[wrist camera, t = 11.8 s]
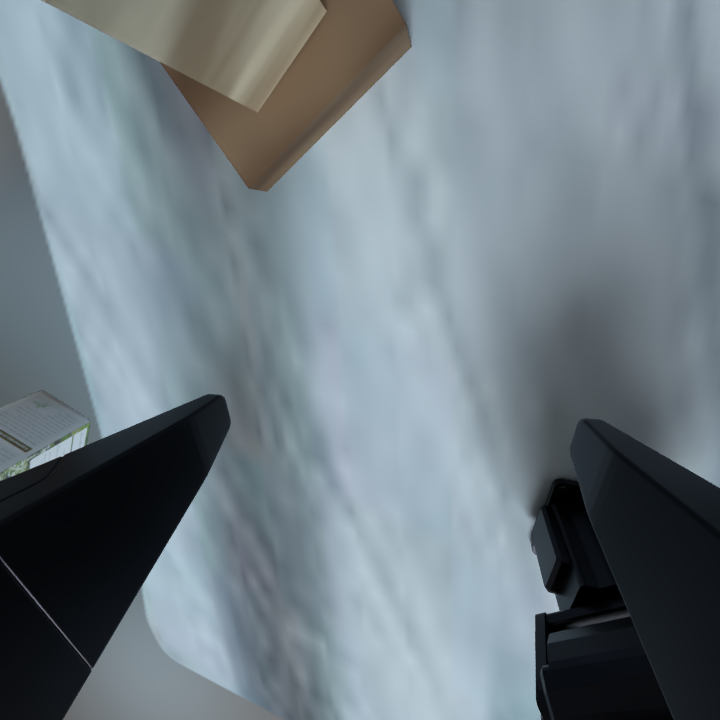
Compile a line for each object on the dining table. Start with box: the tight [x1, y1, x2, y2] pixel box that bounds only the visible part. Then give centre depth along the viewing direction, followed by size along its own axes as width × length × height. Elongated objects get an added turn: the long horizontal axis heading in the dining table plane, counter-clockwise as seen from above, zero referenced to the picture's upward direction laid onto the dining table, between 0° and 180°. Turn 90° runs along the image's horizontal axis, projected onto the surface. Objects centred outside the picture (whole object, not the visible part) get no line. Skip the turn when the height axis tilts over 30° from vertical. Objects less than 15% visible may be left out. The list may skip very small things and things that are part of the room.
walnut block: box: [160, 0, 412, 191], centre depth 16 cm, size 10×10×2 cm
